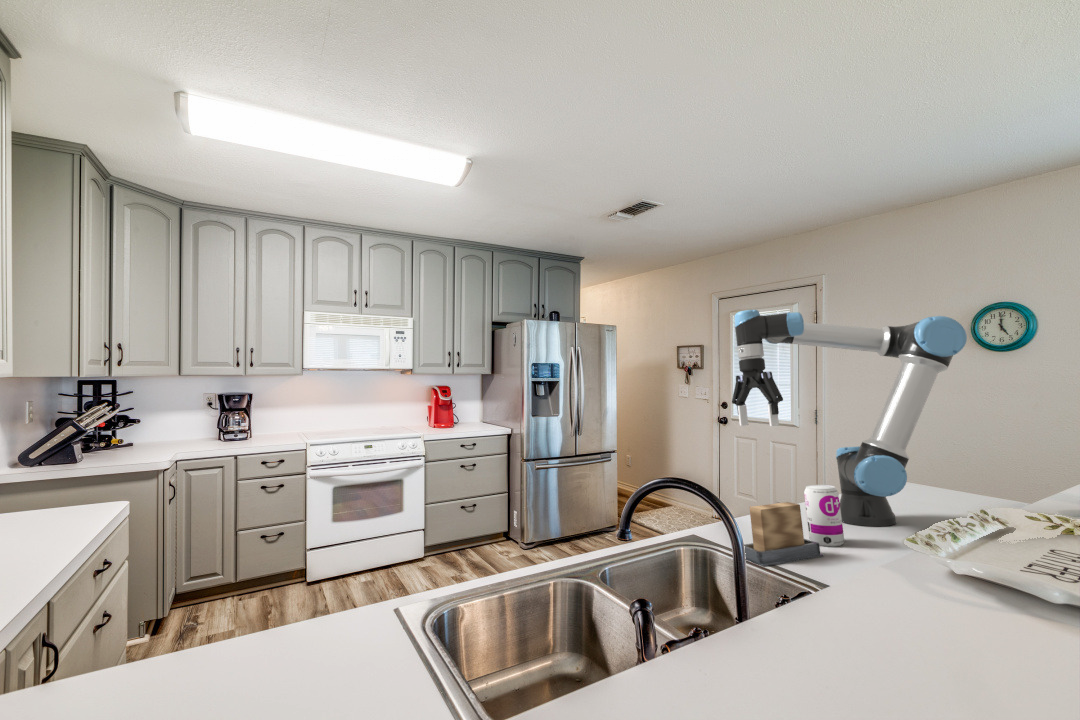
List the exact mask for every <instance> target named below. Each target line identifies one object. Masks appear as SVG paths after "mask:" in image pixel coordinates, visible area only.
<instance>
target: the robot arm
mask: <svg viewBox="0 0 1080 720" xmlns="http://www.w3.org/2000/svg"><path fill="white" fill-rule="evenodd" d="M734 328H735V329H734V330H735V339H736V346H737V354H738V355H737V356H738V357H737V358H738V359H740V360H738V366H739V372H741V373H742V375H736V376H735V385H734V390H733V394H732V399H731V404H734V405H735V406H736V408H737V409H736V410H737V416H738V422H739V426H740V427H741V426H743V427H744V426H748V425H749V419H748V409H747V404H746V401H747V399H748V396H749V395H750V392H751V390H753V389H756V388H757V389H758V390H759V391H760V393H762V395H763V396H764V398H765V399H766V400H767V402H768V403H767V405H766V406H767V411H768V422H769V427H776V426H777V427H778V426H780V421H779V413H780V412H779V403H780V402H783V401H784V398H783V396H782V394H781V392H780V390H779V387H778V386H777V383H776V382H775V380H774V377H773V372H772V371H764V370H766V364H765V363H766V362H765V358H764V356H765V352H764V351H765V350H764V344H763V340H765V342H767V343H769V344H772V345H774V344H775V345H776V344H788V345H789V344H791V345H802V346H811V347H820V348H832V349H840V350H852V351H861V352H870V353H871V352H872V353H877V354H878V355H879V356H880V357H890V358H895V359H896V358H897V359H899V361H900V362H901V365H900V368H899V370H898V373H897V374H896V377H895V379H894V382H893V384H892V387H891V389H890V391H889V394H888V396H887V397H886V401H885V403H884V406H883V407H882V410H881V413H880V415H879V418H878V420H877V422H876V424H875V426H874V429H873V431H872V434H871V437H870V438H868V439H866V440H863V441H862V442H861V444H860V446H848V447H847V446H843V447H838V448H837V449H836V450H835V452H836V457H835V460H836V464H837V470H838V472H837V473H838V478H839V485H840V494H841V497H840V499H839V502H840V510H841V518H842V521H844V522H843V523H845V522H846V523H845V524H849V525H856V526H864V527H887V526H889V527H890V526H893V525H896V524H897V518H896V514H895V513H894V512H893V509H892V507H891V505H890V503H889V501H888V498H887V497H891V496H895V495H897V494H898V493H900V492H901V491H902V490H904V488H905V486H906V484H907V481H908V475H907V474H908V473H907V471H906V467H907V465H908V462H909V460H910V457H909V455H908V454H907V452H906V450H907V447H908V445H909V442H910V440H911V437H912V435H913V433H914V430H915V428H916V426H917V424H918V422H919V420H920V418H921V415H922V412H923V409H924V408H925V405H926V403H927V400H928V398H929V395H930V394H931V391H932V389H933V386H934V384H935V381H936V379H937V377H938V374H940V373H942V372H944V371H947V370H948V369H949V366H950V364H951V362H952V359H953V357H954V356H955V355H957V354H958V353H960V352H961V351H962V350H963V349H964V347H965V346H966V344H967V341H968V336H967V332H966V329H965V328H964V326H963V325H962V324H961V323H960V322H959V321H957V320H955V319H954V318H951V317H949V316H945V315H935V316H928V317H924V318H922V319H921V320H919V321H917V322H913V323H910V324H908V325H906V324H905V325H899V326H897V325H896V326H890V325H885V326H883V327H881V328H878V327H877V328H874V327H862V326H852V325H851V326H849V325H836V324H827V323H826V324H825V323H814V322H813V323H812V322H805V321H804V317H803V315H802V313H800V312H797V311H795V312H790V311H789V312H785V313H774V314H767V315H766V314H765V315H761V314H760V311H759V310H757V309H746V310H741V311H737V313H735V315H734Z"/></svg>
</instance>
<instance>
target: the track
mask: <svg viewBox="0 0 1080 720" xmlns="http://www.w3.org/2000/svg"><path fill="white" fill-rule="evenodd" d="M743 545H744V546H745V553H746V559H745V560H746V561H748V562H752V563H754V564H755V565H759V566H760V567H764V568H765V567H768V566H775V565H782V564H787V563H792V562H799V561H804V560H805V561H807V560H810V559H816V558H817V559H818V558H822V557H823V558H824V556H825V555H824V554H823V553H821V549H820V545H819V543H817V542H814V541H811V540H810V539H806V538H804V544H802V545H796V546H790V547H783V548H777V549H771V550H764V551H757V550H755V549H754V545H753V542H751V543H746V544H743Z"/></svg>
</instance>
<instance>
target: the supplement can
mask: <svg viewBox="0 0 1080 720" xmlns="http://www.w3.org/2000/svg"><path fill="white" fill-rule="evenodd" d="M803 494H804V501H805V504H804V505H805V510H806V512H805V513H806V518H807V519H806V520H807V528H808V536H809V540H810V541H814V542H817V543H819V546H822V547H831V548H832V547H833V548H834V547H835V548H836V547H840V546H842V545H843V544H844V543H845V535H844V534H845V533H844V527H843V526H844V525H843V522H842V518H841V510H840V496H839V491H838V490H837V489H836V486H834V485H828V484H808V485H806V486H805V489H804V491H803Z"/></svg>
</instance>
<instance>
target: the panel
mask: <svg viewBox="0 0 1080 720" xmlns="http://www.w3.org/2000/svg"><path fill="white" fill-rule="evenodd" d="M801 510H802V509H801V504H799V503H796V502H795V503H793V502H790V501H785V502H778V503H770V504H762V505H754V506H753V505H752V506H749V514H750V515H749V516H750V524H751V534H752V535H751V536H752V543H753V545H754V549H755V550H757V551H764V550H771V549H777V548H783V547H790V546H796V545H802V544H804V539H805V538H804V536H805V535H804V527H803V521H802V513H801Z"/></svg>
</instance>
